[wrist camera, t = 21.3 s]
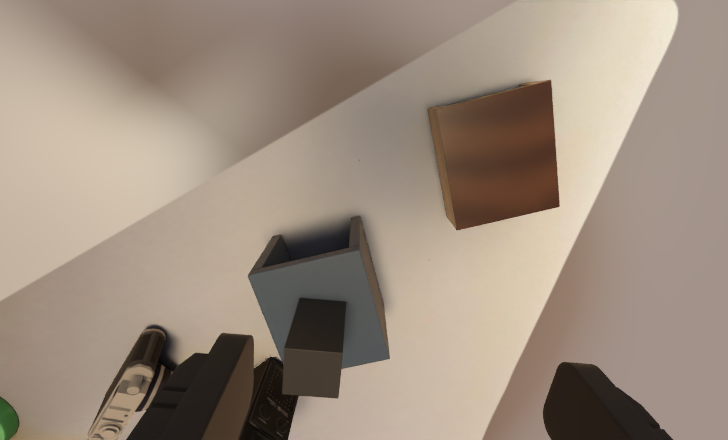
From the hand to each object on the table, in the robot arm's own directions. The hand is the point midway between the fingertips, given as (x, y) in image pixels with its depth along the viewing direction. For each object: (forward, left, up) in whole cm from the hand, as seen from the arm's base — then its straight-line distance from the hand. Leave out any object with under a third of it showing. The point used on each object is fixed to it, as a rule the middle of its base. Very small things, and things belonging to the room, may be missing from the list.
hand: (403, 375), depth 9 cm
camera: (+24, -39, -36) cm, 58 cm away
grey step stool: (+14, -9, -36) cm, 40 cm away
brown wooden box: (+3, +14, -36) cm, 39 cm away
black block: (+14, -9, -25) cm, 30 cm away
